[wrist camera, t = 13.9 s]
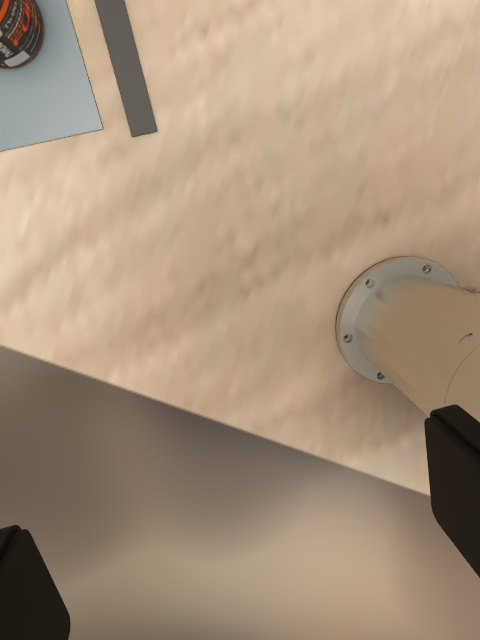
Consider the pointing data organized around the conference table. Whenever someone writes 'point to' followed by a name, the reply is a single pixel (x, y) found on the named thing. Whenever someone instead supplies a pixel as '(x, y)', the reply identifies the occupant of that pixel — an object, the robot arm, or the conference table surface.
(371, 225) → the conference table surface
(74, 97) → the pad
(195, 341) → the conference table surface
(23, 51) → the supplement bottle
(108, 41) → the bar
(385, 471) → the conference table surface
